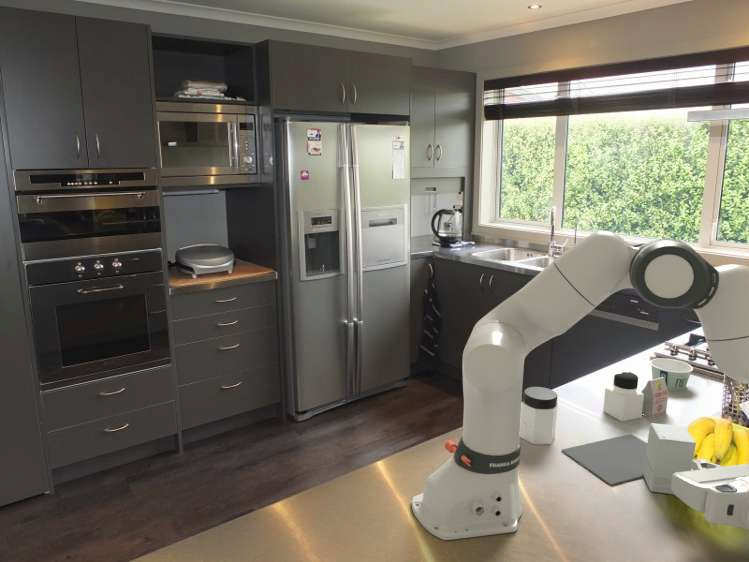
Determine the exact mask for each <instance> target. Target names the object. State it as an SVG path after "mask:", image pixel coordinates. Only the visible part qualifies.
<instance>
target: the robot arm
mask: <svg viewBox="0 0 749 562" xmlns="http://www.w3.org/2000/svg"><path fill="white" fill-rule="evenodd" d="M625 289H634V290H635V292H636V293H637V294H638V296H639V297H640V298H641V299H642V300H644V301H645V302H647V303H648V304H650V305H652V306H655V307H659V308H663V309H671V310H672V309H682V310H683V309H686V310H693V311H694V312H695V314H696V316H697V318H698V320H699V323H700V326H701V329H702V331H703V332H702V333H703V335H704V338H705V341H706V345H707V348H708V351H709V355H710V357H711V359H712V361H713V363H714V365H715V367H716V368H717V370H719V371H720V372H721V373H722V374H724V375H725V376H727V377H728V378H730V379H732V380H733V381H737V382H739V383H743V384H747V385H749V266H747V265H743V264H737V263H736V264H735V263H732V264H730V263H729V264H722V265H719V266H713V265H712V264H710V263H709V262H708V261H707V260H706V259H705V258H704V257H703V256H701V254H699V253H698V252H697V251H696V250H695V248H693V247H691V246H690V245H688V244H687V243H685V242H683V241H680V240H677V239H670V238H669V239H667V238H666V239H664V238H663V239H657V240H653V241H649V242H645V243H640V244H634V245H631V244H629V242H627V241H626V240H625V239H624V238H623V237H621V236H620V235H618V234H616V233H614V232H611V231H609V230H607V231H606V230H598V231H594V232H593V233H592V234H590V235H588V236H585V237H584V238H583V239H581V240H580V241H577V242H576V243H575V244H574V245H572V246H570V247H569V248H568V249H567V250H565V251H564V252H563V253H562V254H559V256H558V257H556V258H555V259H554V260H553V261H552V262H551V263H549V264H548V265H547V266H546V267H545V268H543V269H542V270H540V272H539V273H538V274H537V275H535V276H534V277H533V278H532V279H531V280H530V281H528V282H527V284H525V285H524V286H523V287H522V288H520V289H519V290H518V291H516V292H515V293H514V294H512V295H510V296H509V297H508V298H506V299H505V300H503V301H502V302H501V303H499V304H498V305H497V306H496V307H494V308H493V309H492V310H490V311H489V312H487V314H485V315H484V316H483V317H482V318H480V319H479V320H478V321H477V322H476V323H475V325H474V327H473V328H472V331H471V333H470V336H469V337H468V340H467V342H466V344H465V346H464V349H463V350H462V351H463V353H462V392H463V393H462V394H463V416H462V417H463V418H462V419H463V420H462V421H463V422H462V435H461V437H460V439H459V441H458V443H457V444H456V443H454V441H453V440H451V439H448V440H446V441H445V442H444V445H443V447H444V448H445V450H446V451H448V452H449V453H451V454H453V456H452V457H450V458H449V459H448V460H447V461H446V462H445V463H443V464H442V465H440V467H439V468H437V469H436V470H435V471H434V472H433V473H431V474H430V475H429V476H428V477H427V479H426V480H425V484H424V489H423V492H421V493H419V494H417V495H414V496H413V497H412V499H411V500H412V501H411V509H412V512H413V514H414V516H415V518H416V519H417V520H418V522H419V523H420V524H421V526H422V527H423V528H424V529H426V530H427V531H428V532H429V533H430V534H431V535H433V536H435V537H436V538H438V539H441V540H443V541H446V540H447V541H452V540H459V539H467V538H475V537H483V536H491V535H498V534H507V533H514V532H516V531H518V521H519V519H520V517H521V516H522V515H523V509H524V508H523V503H522V499H521V495H520V488H519V487H520V486H519V475H518V474H519V471H518V470H519V469H518V468H519V465H520V463H521V442H520V424H521V410H522V402H523V401H522V400H523V384H524V383H523V382H524V380H523V379H524V369H525V368H524V366H525V359H526V357H527V356H528V355H529V354H530V353H531V351H533V350H534V349H535V348H537V347H539V346H541V345H542V344H544V343H546V342H547V341H550V340H551V339H553V338H555V337H558V336H561V335H563V334H564V333H566V332H567V331H568V330H570V329H571V328H572V327H573V326H574V325H575V324H577V323H578V322H579V321H580V320H582V319H583V318H584V317H585V316H587V315H588V314H589V313H591V311H593V310H594V309H595V308H596V307H597V306H599V305H600V304H601V303H603V302H604V301H605V300H606V299H608V298H610V296H611V295H613V294H615V293H617V292H619V291H621V290H625ZM690 468H691V471H684V472H675V473H674V474H673V476H672V481H671V490H672V492H673V493H674V494H673V495H674V496H676V497H677V498H678V499H679V500H680V501H681V502H683V503H684V504H685V505H687V506H688V507H690V508H691V509H692V510H694V511H696V512H697V513H698V512H699V513H701V514H704V519H705V521H707V522H708V523H710V524H712V525H718V526H728V527H734V528H738V529H743V530H748V531H749V463H744V464H734V465H727V466H726V465H725V466H722V465H721V464H717V463H713V462H710V461H709V460H707V459H705V458H700V459H693V460H691V461H690Z"/></svg>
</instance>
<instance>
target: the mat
mask: <svg viewBox="0 0 749 562" xmlns="http://www.w3.org/2000/svg"><path fill="white" fill-rule="evenodd" d="M647 443H648V442H646V441H644V440H643V439H640V438H639V437H637V436H635V435H633V434H632V433H629V434H625V435H620V436H615V437H611V438H607V439H603V440H598V441H593V442H589V443H585V444H581V445H577V446H572V447H568V448H563V449H561V452H562V453H563V452H564V453H563V454H565V455H567V456H568V457H569V458H571V459H572V460H573V461H575V462H576V463H577V464H579V465H580V466H581V467H583V468H584V469H586V470H588V471H589V472H590V473H591V474H593V475H594V476H596V477H598V478H599V479H600V480H601V481H603V482H605V484H607V485H608V486H610V487H612V486H615V485H618V484H623V483H627V482H631V481H634V480H637V479H642V478H644V475H643V473H642V472H643V467H644V461H645V455H646V449H647Z"/></svg>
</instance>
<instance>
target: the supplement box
mask: <svg viewBox="0 0 749 562" xmlns="http://www.w3.org/2000/svg"><path fill="white" fill-rule="evenodd" d="M646 443H647V449H646V455H645V461H644V467H643V472H642V473H643V475H644V477H643V478H644V479H645V482H646V485H647V486H648V489H649V490H650V492H654V493H662V494H667V495H675V494H674V493H673V492H672V490H671V481H672V476H673V474H674V473H675V472H684V471H692V469H691V468H690V461H691V460H694V457H695V451H696V445H697V443H696V441H695V439H694V438H693V436H692V435H691V433H690V431H689V430H688V428H687V427H686V426H683V425H673V424H664V423H654V422H651V423H650V426H649V431H648V437H647V442H646Z"/></svg>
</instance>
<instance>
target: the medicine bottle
mask: <svg viewBox="0 0 749 562" xmlns="http://www.w3.org/2000/svg"><path fill="white" fill-rule="evenodd" d="M638 385H639V377H638V375H637V374H635V373H633V372H631V371H624V370H623V371H617V372H615V373H614V374H613V384H612V386H608V387H605V389H604V398H603V409H602V412H604V413H605V412H606V413H605V414H607V413H608V414H607V415H609V414H610V415H609V416H611V417H612V416H613V417H612V418H614V419H616V420H617V421H619V420H620V422H621V421H622V422H628V421H633V420H638V419H641V418H642V415H643V414H642V408H643V400H644V394H643V393H641V392H642V391H639V390H638ZM637 418H638V419H637ZM632 419H633V420H632ZM627 420H628V421H627ZM622 422H621V423H622Z"/></svg>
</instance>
